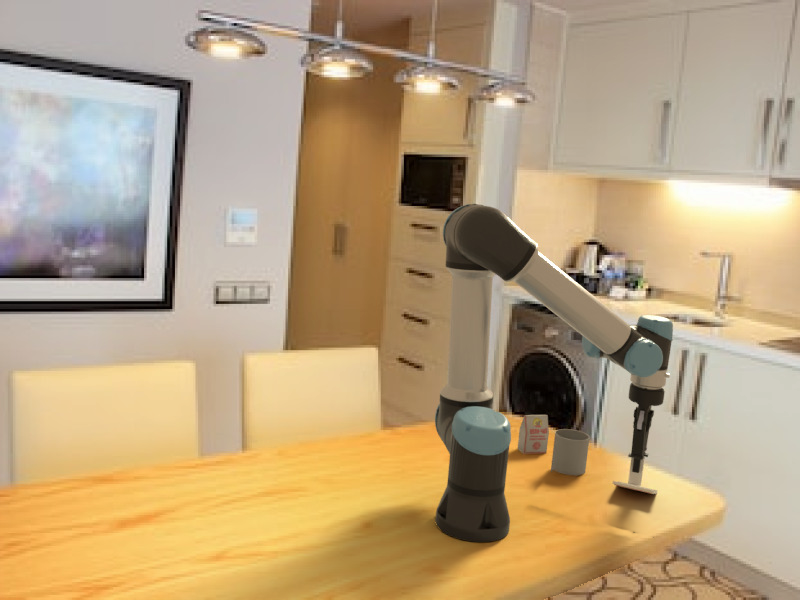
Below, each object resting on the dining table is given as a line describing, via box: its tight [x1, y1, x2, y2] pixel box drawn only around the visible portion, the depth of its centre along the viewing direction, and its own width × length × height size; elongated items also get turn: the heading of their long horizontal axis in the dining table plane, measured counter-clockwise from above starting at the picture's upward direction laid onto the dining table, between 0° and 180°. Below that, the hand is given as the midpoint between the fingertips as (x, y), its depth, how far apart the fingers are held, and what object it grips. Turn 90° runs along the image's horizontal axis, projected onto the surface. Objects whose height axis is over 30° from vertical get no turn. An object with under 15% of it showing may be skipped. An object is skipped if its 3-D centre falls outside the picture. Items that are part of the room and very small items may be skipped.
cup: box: [550, 428, 590, 476], centre depth 187 cm, size 8×8×10 cm
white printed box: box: [517, 414, 550, 455], centre depth 200 cm, size 4×7×10 cm, turn 107°
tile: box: [612, 480, 658, 495], centre depth 174 cm, size 10×9×1 cm
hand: (634, 483), depth 172 cm, fingers closed
